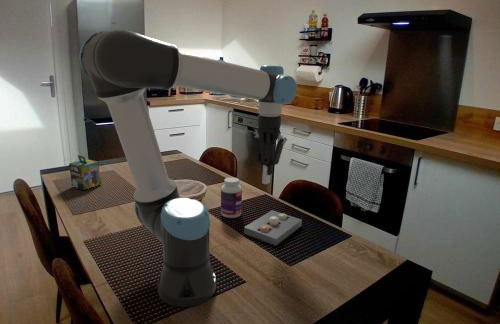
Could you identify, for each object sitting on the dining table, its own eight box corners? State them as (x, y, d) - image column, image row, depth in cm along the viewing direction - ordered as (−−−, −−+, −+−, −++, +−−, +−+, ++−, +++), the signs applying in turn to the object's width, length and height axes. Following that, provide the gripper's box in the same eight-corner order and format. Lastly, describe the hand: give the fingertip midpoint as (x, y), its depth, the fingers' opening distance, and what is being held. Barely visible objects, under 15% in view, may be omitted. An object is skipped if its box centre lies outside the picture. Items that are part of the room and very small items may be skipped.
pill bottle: (238, 220, 130) (239, 184, 126) (218, 217, 132) (218, 182, 128) (243, 211, 138) (244, 177, 134) (224, 209, 139) (224, 175, 135)
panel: (275, 245, 114) (276, 239, 113) (244, 233, 121) (244, 227, 120) (301, 225, 128) (301, 219, 127) (271, 216, 135) (271, 210, 134)
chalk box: (101, 185, 160) (98, 154, 156) (83, 191, 153) (80, 159, 148) (89, 181, 165) (86, 151, 160) (71, 187, 157) (67, 155, 153)
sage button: (283, 224, 126) (284, 218, 126) (276, 222, 128) (276, 215, 127) (288, 221, 129) (288, 215, 128) (280, 219, 131) (281, 212, 130)
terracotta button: (265, 237, 117) (266, 230, 116) (257, 234, 119) (258, 227, 118) (270, 234, 120) (271, 226, 119) (263, 231, 121) (263, 224, 121)
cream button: (275, 228, 121) (275, 221, 121) (267, 225, 123) (267, 218, 122) (279, 225, 124) (280, 217, 123) (272, 222, 126) (272, 215, 125)
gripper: (292, 115, 112) (288, 184, 118) (260, 111, 119) (257, 176, 126) (280, 118, 106) (276, 190, 113) (246, 113, 113) (244, 181, 120)
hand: (266, 182), depth 119 cm, fingers closed
